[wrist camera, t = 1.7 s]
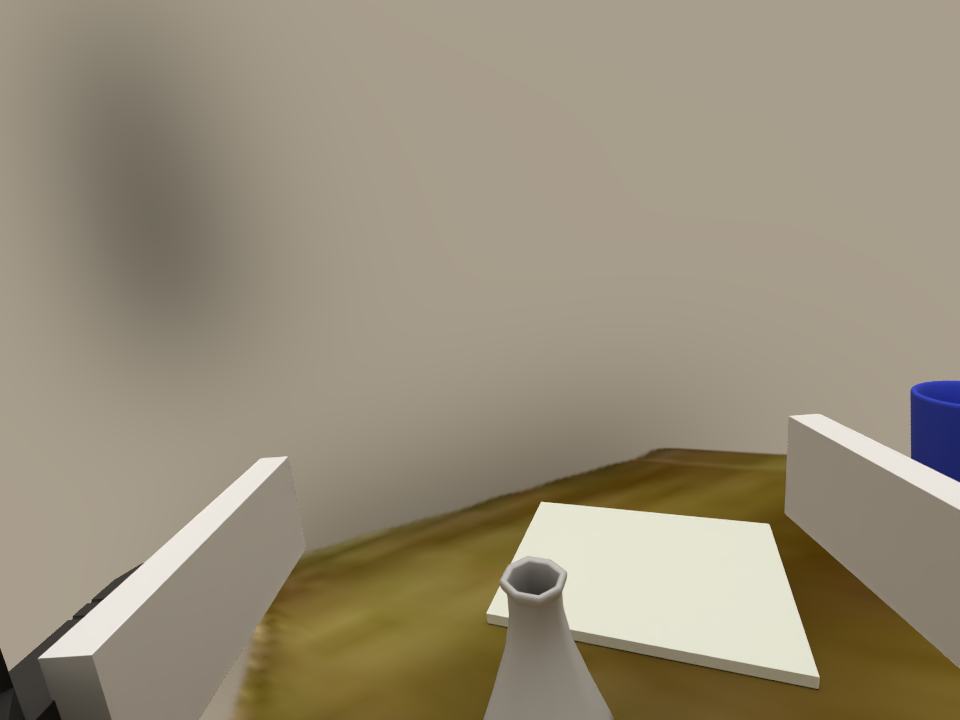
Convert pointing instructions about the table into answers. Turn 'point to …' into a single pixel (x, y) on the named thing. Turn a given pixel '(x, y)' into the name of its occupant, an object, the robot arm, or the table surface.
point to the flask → (541, 652)
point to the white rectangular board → (672, 589)
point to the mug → (936, 426)
